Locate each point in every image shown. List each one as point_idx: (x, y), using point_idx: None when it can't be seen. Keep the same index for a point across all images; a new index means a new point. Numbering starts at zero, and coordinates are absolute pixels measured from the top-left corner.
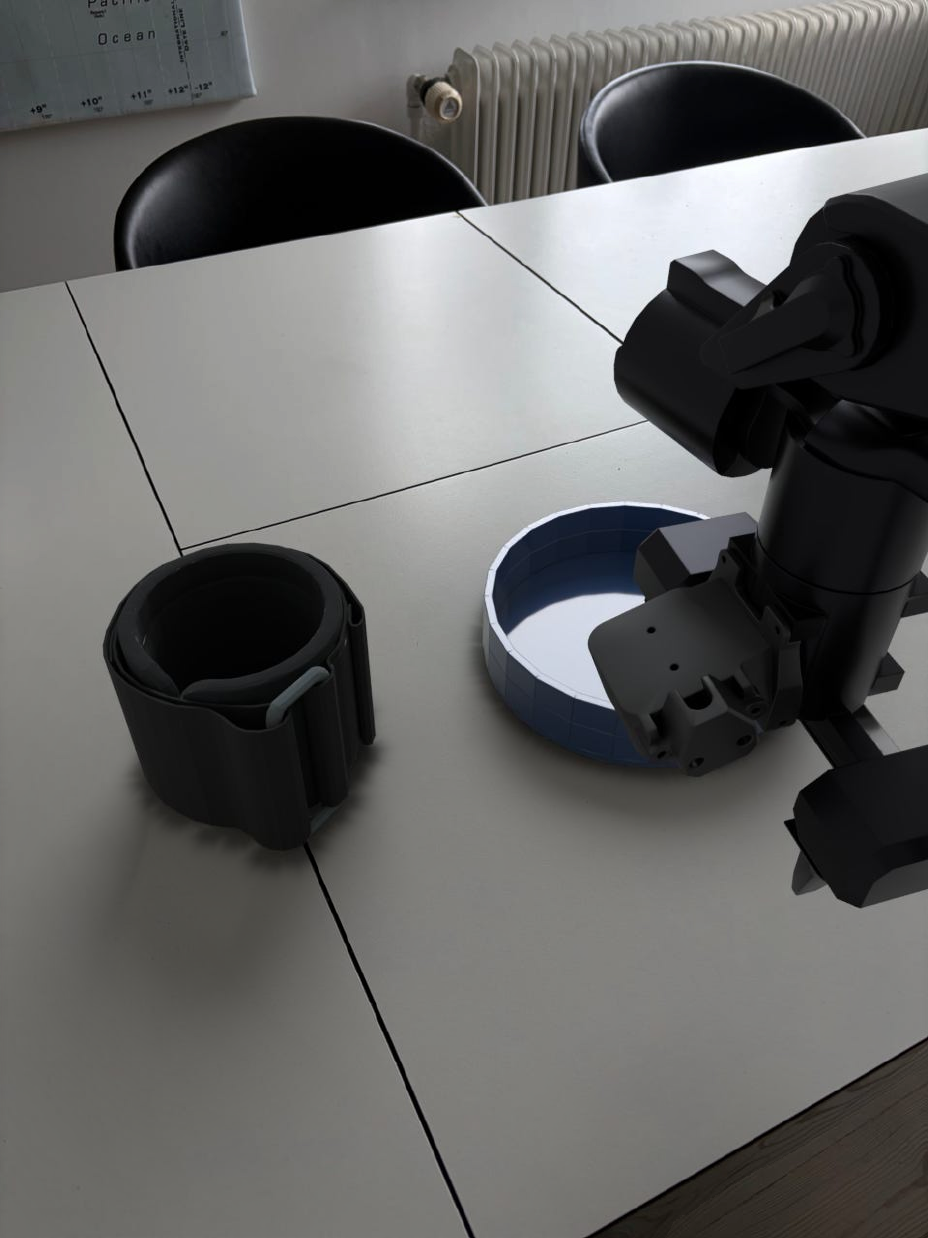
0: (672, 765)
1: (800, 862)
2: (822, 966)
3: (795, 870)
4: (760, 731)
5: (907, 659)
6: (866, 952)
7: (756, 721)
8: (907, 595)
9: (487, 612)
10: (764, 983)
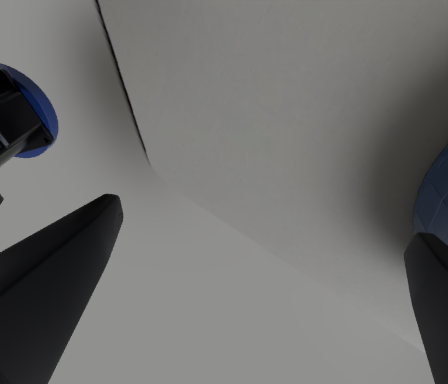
0: (442, 154)
1: (44, 250)
2: (216, 155)
3: (78, 225)
4: (414, 231)
5: (392, 325)
6: (216, 185)
7: None
8: None
9: None
10: (218, 110)
